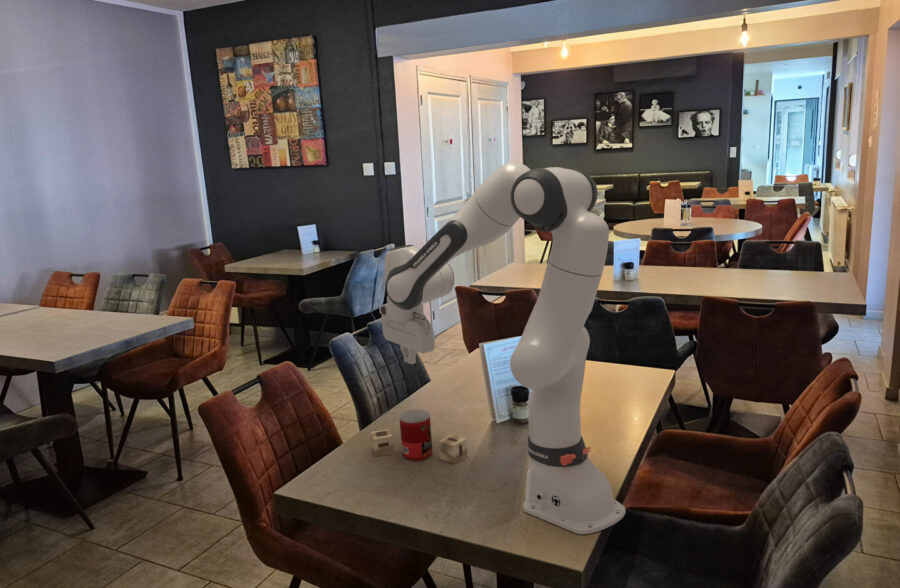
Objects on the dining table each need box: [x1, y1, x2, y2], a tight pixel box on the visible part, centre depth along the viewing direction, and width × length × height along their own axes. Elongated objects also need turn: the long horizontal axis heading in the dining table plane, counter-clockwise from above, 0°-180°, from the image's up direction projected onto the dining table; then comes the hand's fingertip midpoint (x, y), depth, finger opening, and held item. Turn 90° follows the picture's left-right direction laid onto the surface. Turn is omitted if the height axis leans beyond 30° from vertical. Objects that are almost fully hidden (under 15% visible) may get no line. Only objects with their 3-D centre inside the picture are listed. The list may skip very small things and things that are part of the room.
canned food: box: [399, 409, 433, 461], centre depth 169 cm, size 8×8×11 cm
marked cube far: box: [370, 428, 395, 457], centre depth 173 cm, size 5×5×5 cm
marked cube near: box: [438, 434, 468, 465], centre depth 166 cm, size 5×5×5 cm
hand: (410, 362), depth 165 cm, fingers closed
